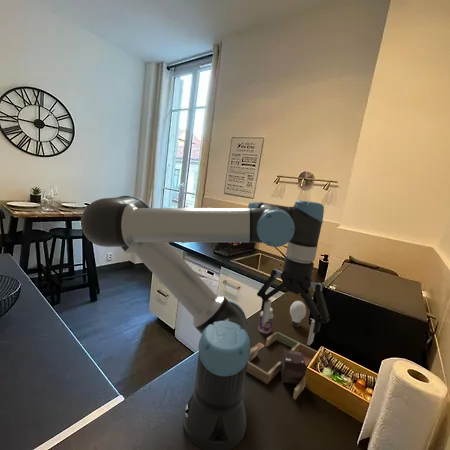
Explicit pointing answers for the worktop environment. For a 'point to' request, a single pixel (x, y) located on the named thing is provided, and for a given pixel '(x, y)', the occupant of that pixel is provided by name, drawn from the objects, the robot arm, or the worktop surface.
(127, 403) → the worktop surface
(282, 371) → the box
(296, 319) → the light bulb
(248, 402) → the worktop surface
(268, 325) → the pill bottle
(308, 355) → the tray
